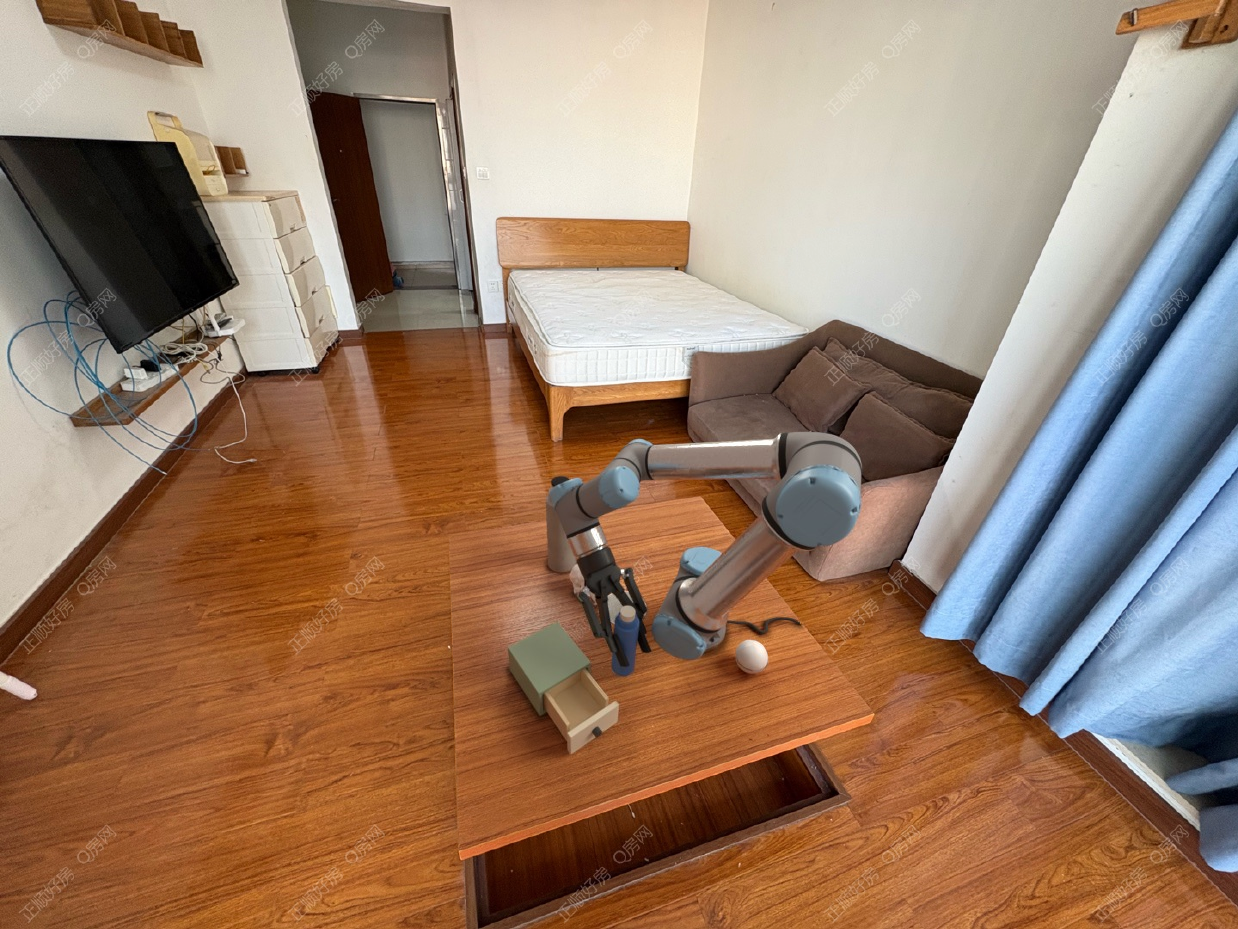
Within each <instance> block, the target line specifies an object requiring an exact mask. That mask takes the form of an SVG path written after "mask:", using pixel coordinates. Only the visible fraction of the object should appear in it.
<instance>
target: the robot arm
mask: <svg viewBox="0 0 1238 929" xmlns="http://www.w3.org/2000/svg"><path fill="white" fill-rule="evenodd" d="M857 451H858V450H856V448H855V447H853V445H852V444H851V443H850V442H849V441H847V440H846V439H844V438H842V437H840V436H838V435H834V434H832V433H826V432H817V431H795V432H780V433H779V434H778V435H776V437H774V438H766V439H747V440H729V441H726V440H725V441H708V442H689V443H673V444H672V443H670V444H669V443H668V444H653V443H651V442H650V441H647V440H645V439H643V438H636V439H633V440H631V441H630V442H629V443H627V444H625V445H624V446H623V447H622V448H621V450H620V451H619V452H618V453H617V454H616V456H615V457H614V458H613V459H612V460H611V461H610V462H609V463H608V465H606V466H605V468H603V470H601V471H600V473H599V474H598V475H596V476H595V477H594V478H592V479H590V480H588V481H586V482H583V480H582V478H580V477H574V478H570V480H568V481H566V482H563V483H561V484H559V485H557V486H555V487H553V488H552V489H551V491H550V496H551V499H552V503H553V506H554V510H555V511H556V513H557V516H558V518H559V520H560V522H561V525H562V527H563V530H564V532H565V534H566V537H567V539H568V542H569V545H570V547H571V549H572V552H573V554H574V556H575V557H576V564H578V567H579V569H580V572H581V574H582V576H583V578H584V587H583V589H582V590H581V591H580V592H577V593H576V594H574V596H575V598H576V600H577V601H578V602H579V603H580V604H581V607H582V609H583V612H584V614H585V618H586V621H587V623H588V625H589V628H590V630H591V633H592V636H593V638H594V639H604V640H605V642H606V646H607V648H608V650H609V652H610V653H611V654H612V653H615V654H616V657H617V659H618V662H619V664H620V666H622V667H628V666H629V665H630V664H629V662H628V660H627V657H626V655H625V652H624V650H623V647H622V645H621V642H620V640H619V638H618V635H617V634H614V630H613V627H612V626H613V625H612V621H611V614H610V609H609V603H608V601H609V596H610V594H612V595H613V596H615V598H616V599H617V601H618V602H619V603H620V605H621V606H622V607H623V606H632V607H633V608H634V609H635V611H636V615H637V617H638V619H639V631H638V640H637V645H638V646H639V648H640V651H641V653H643V654H650V653H652V648H651V646H650V644H649V641H648V639H647V636H646V635H647V634H648V630H647V628H646V625H645V623H644V618H645V614H647V613H648V608H647V604H646V603H645V601H644V600H645V599H644V598H643V596H642V594H641V591H640V589H639V587H638V584H637V582H636V579H635V576H634V575H635V574H634V569H633V567H626V568H620V567H619V566H618V564H617V562H616V559H615V556H614V554H613V551H612V549H611V547H610V546H608V545H607V544H608V539H607V537H606V535H605V532H604V530H603V527H602V525H601V523H600V520H599V518H600V517H603V516H605V515H608V514H610V513H612V512H614V511H617V510H619V509H622V508H626V507H627V506H628V505H630V504H631V503H634V502H635V501H636V500H637V499H638V497H639V496H640V489H641V486H640V483H641V482H643V481H686V480H687V481H690V480H691V481H692V480H696V481H698V480H700V481H701V480H703V481H704V480H776V481H777V482H778V483H776V485H775V486H774V487H773V488H772V489H771V490H770V491H769V492H768V493H767V494H766V495H765V496H764V497H763V499H762V500H761V502H760V510H761V511H760V512H761V514H759V516H757V518H756V519H754V521H753V522H752V523H750V524H749V526H748V527H747V528H745V530H744V531H743V532H742V533H740V535H739V536H738V537H737V538H736V539H734V541H733V542H732V543H731V544H730V545H729V546H728V547H726V549H725V550H724V551H723V552H721V551H719V550H717V549H714V548H710V547H706V546H693V547H689V548H687V549H686V550H685V551H683V553H682V554H681V557H680V559H679V566H678V567H679V568H678V571H677V574H676V576H675V578H674V580H673V582H672V583H671V586H670V588H669V589H668V592H667V594H666V596H665V597H664V599H663V601H662V603H661V605H660V607H659V609H658V611H657V613H656V614H655V616H654V617H653V621H652V624H651V629H650V630H651V635H652V637H653V640H654V641H655V643H656V645H658V647H659V648H661V649H662V650H663V651H664V652H666V653H667V654H668V655H670V656H672V657H674V658H676V659H680V660H684V661H695V660H698V659H700V658H701V657H702V656H703V655H704V653H708V652H711V651H714V650H715V649H717V648H719V647H720V645H722V643H723V641H724V639H725V636H726V632H727V624H730V625H731V624H733V625H746V626H749V627H751V628H752V629H753V630H755V632H757V633H758V634H761V635H763V634H766V633H767V632H768V631H769V630H768V629H769V623H772V622H775V621H788V622H792V623H795V624H797V625H799V626H802V625H803V624H802V622H801V621H799V620H798V621H799V622H798V621H797V619H795V618H793V617H787V616H776V617H772V618H769V619H767V620H765V622H764V629H762V630H761V629H759V628H758V627H757V626H756V625H755V624H753V623H752V622H749V621H743V620H730V619H729V617H730V616H729V615H730V614H729V612H730V611H732V609H733V608H734V607H735V606H736V605H738V604H739V603H740V602H741V601H742V600H743V599H744V598H746V597H747V596H748V595H749V594H750V593H752V592H753V591H754V590H755V589H756V588H757V587H758V586H759V585H760V584H762V583H763V582H764V581H765V580H766V579H768V578H769V577H770V576H771V575H772V574H773V573H775V571H777V570H778V569H779V568H780V567H781V566H782V565H783V564H784V563H786V562H787V561H788V560H789V559H790V558H792V557H793V556H794V555H795V554H796V553H797V552H798V551H803V552H810V551H811V552H812V551H814V550H815V549H816V548H817V547H819V546H822V547H830V546H833V545H835V544H837V543H839V542H841V541H842V540H844V539H845V538H846V537H847V536H849V534H851V533H852V531H853V529H854V528H855V526H856V524H857V521H858V519H859V515H860V512H861V508H862V495H861V493H862V492H861V491H862V475H863V464H862V461H861V457H860V455H859V453H858V452H857ZM592 528H594V529H592ZM590 529H591V530H590ZM588 530H589V531H588ZM585 531H586V532H585ZM583 532H584V533H583ZM581 533H582V534H581ZM574 536H575V537H574ZM569 538H570V539H569ZM621 578H622V579H623V583H624V585H625V587H626V589H627V592H628V594H629V595H628V594H627V592H626V591H625V588H624V586H623V585H622V583H620V582H621ZM589 591H590V592H592V593H593V594H595V600H596V603H597V605H596V607H597V612H598V614H597V612H596V608H595V607H594V603H593V601H592V600H591V597H590V594H589ZM592 603H593V604H592ZM800 622H801V624H802V625H801V624H800Z"/></svg>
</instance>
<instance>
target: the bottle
mask: <svg viewBox="0 0 1238 929" xmlns="http://www.w3.org/2000/svg"><path fill="white" fill-rule="evenodd" d="M613 624H614V625H613V634H617V635H618V638H619V640H620V642H621V645H622V647H623V650H624V652H625V655H626V657H627V660H628V662H629V664H630V665H629V666H628V667H622V666H620V664H619V662H618V659H617V657H616V654H615V653H611V662H610V664H611V665H610V667H611V670H612V672H613V673H614V674H615V676H617V677H621V678H625V677H629V676H631V675H632V674H633V673H634V671H635V668H636V666H635V665H636V659H637V658H636V656H637V649H638V648H637V647H638V641H637V640H638V631H639V619H638V617H637V615H636V611H635V609H634V608H633V607H632V606H622V607H621V608H620V611H619V613H618V614H617V615H616V616H615V618H614V622H613Z"/></svg>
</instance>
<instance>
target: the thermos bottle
mask: <svg viewBox="0 0 1238 929" xmlns="http://www.w3.org/2000/svg"><path fill="white" fill-rule="evenodd" d="M568 480H571V478H569V477H567V476H565V475H564V476H563V475H558V476H554V477H553V478H551V481H550V486H551V487H550V488H549V489H548V493H547V495H546V497H545V517H546V518H545V519H546V539H547V541H546V542H547V546H546V547H547V548H546V552H547V554H546V555H547V566H548V567H549V569H550V570H552V571H554V572H557V573H566V572H571V570H572V568H573V567H574V566H575V565H576V564H577V557H575V556H574V554H573V552H572V549H571V547H570V545H569V542H568V539H567V537H566V534H565V532H564V530H563V527H562V525H561V522H560V520H559V518H558V516H557V513H556V511H555V510H554V506H553V503H552V499H551V496H550V491H551V489H552V488H553V487H555V486H557V485H559V484H561V483H563V482H566V481H568ZM574 537H575V536H574ZM569 539H570V538H569Z"/></svg>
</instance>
